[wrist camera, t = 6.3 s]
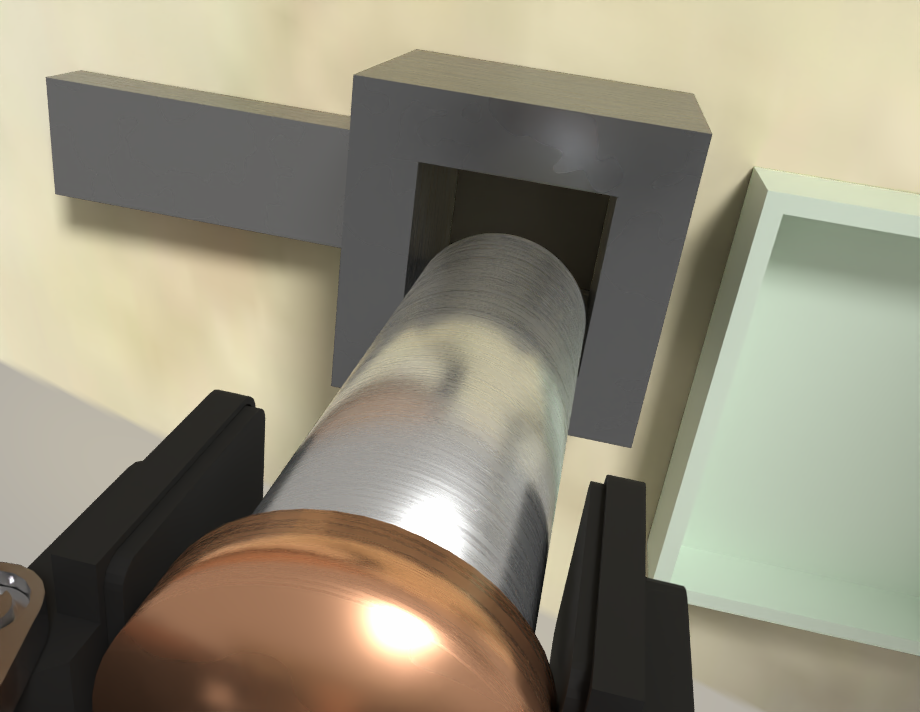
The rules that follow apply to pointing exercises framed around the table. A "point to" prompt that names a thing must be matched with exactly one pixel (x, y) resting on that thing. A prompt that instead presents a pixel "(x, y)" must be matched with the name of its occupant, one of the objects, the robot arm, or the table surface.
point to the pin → (390, 522)
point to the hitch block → (412, 185)
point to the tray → (806, 420)
